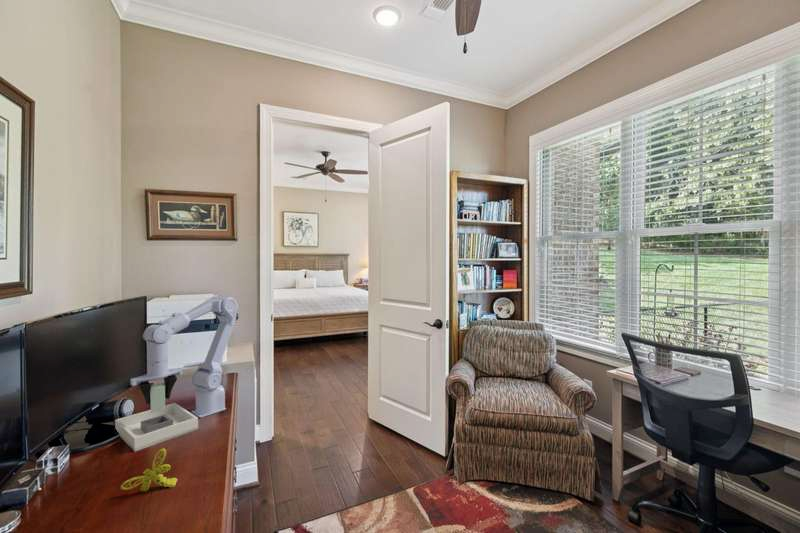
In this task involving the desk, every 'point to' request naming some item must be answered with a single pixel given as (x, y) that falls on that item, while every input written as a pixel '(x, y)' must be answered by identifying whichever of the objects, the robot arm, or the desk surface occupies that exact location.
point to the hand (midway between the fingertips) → (157, 400)
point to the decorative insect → (157, 478)
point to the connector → (157, 397)
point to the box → (155, 426)
